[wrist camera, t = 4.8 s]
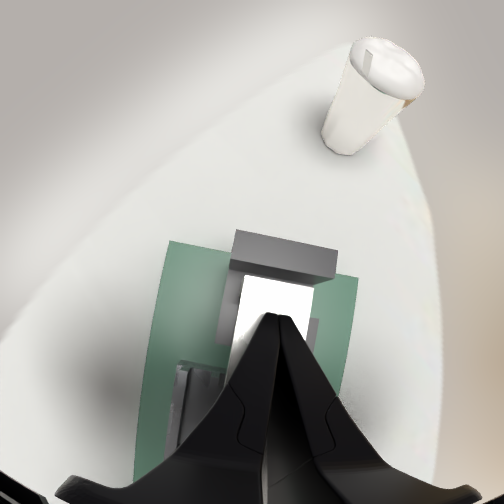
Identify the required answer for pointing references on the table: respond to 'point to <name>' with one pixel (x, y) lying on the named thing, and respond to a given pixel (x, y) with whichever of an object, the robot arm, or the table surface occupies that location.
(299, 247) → the lug block
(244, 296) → the metal bar
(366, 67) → the milkshake
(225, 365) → the board
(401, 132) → the table surface
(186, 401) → the heatsink
